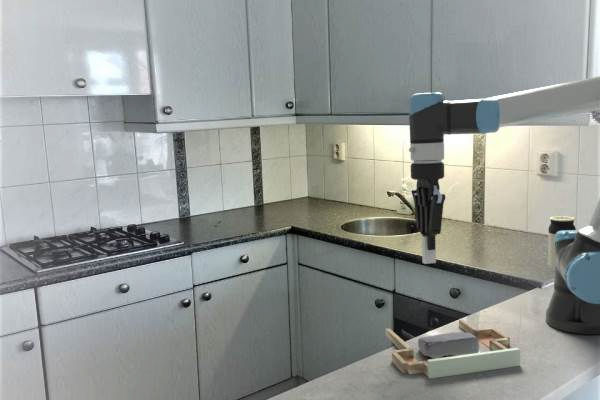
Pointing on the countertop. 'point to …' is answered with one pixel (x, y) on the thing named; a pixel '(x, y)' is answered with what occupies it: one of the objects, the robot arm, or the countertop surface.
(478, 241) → the countertop surface
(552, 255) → the travel mug
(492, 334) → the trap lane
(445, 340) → the stone block
